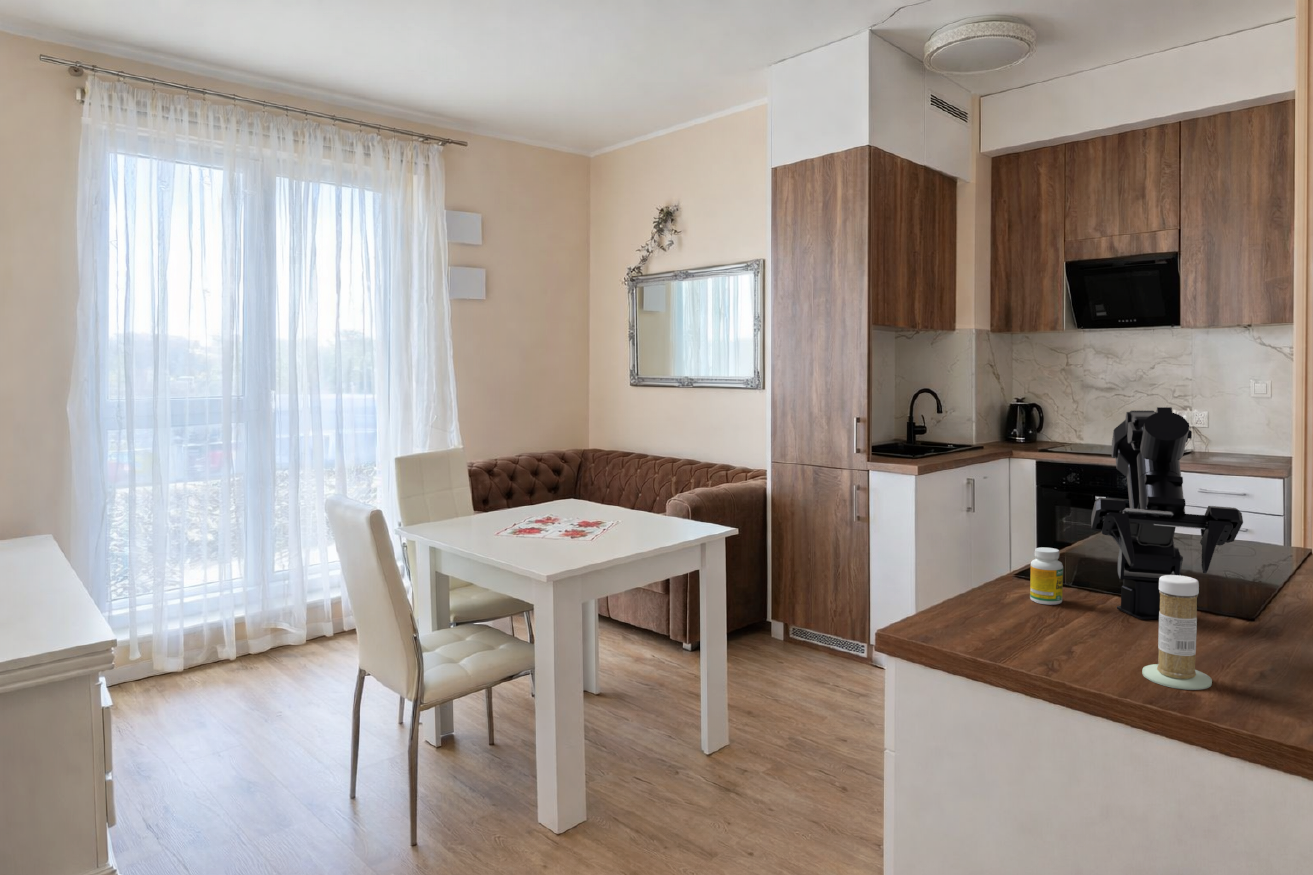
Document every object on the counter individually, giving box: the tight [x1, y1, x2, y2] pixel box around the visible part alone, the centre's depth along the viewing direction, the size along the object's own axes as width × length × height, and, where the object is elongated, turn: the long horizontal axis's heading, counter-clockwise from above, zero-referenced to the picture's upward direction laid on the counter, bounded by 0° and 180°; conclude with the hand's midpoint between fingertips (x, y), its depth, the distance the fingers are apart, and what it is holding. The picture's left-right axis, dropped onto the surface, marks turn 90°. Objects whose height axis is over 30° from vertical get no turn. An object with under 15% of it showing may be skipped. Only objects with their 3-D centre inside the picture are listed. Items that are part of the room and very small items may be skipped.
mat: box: [1141, 663, 1213, 691], centre depth 110 cm, size 8×8×1 cm
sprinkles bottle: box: [1157, 574, 1200, 679], centre depth 110 cm, size 5×5×13 cm
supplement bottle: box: [1029, 546, 1064, 606], centre depth 147 cm, size 5×5×10 cm
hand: (1168, 568), depth 117 cm, fingers open, 9 cm apart
